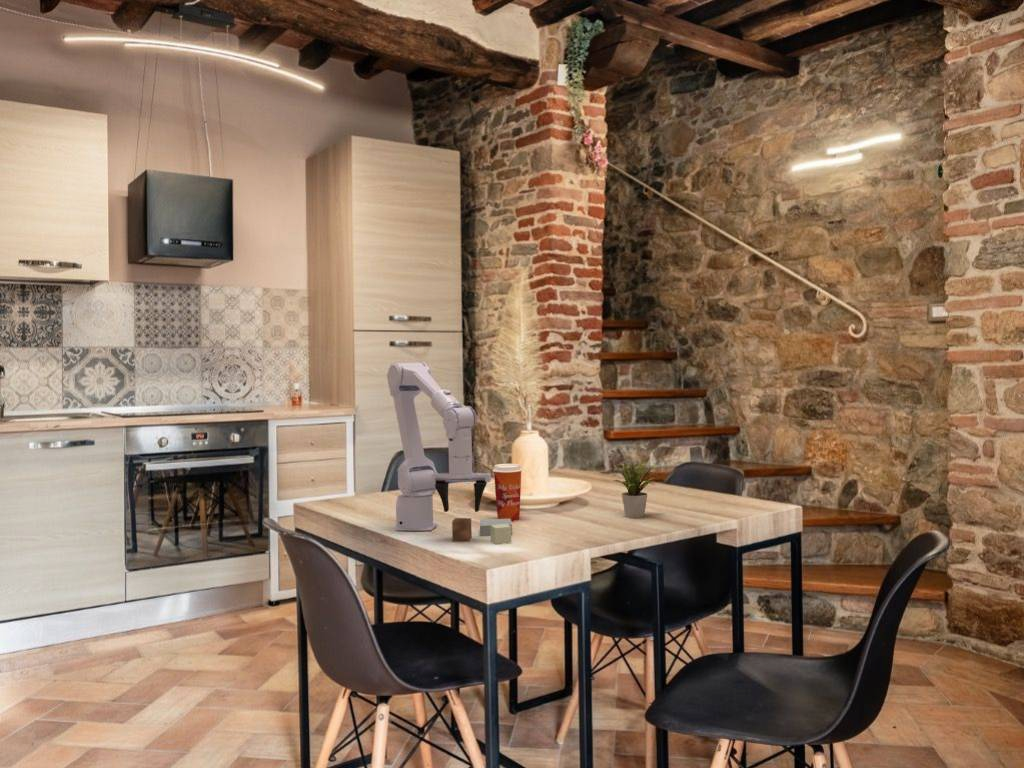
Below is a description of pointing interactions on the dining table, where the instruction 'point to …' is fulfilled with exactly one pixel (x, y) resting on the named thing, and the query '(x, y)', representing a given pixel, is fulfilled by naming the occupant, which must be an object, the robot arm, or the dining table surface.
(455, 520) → the walnut block
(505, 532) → the sage block
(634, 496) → the house plant
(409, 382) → the robot arm
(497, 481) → the coffee cup
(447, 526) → the dining table surface
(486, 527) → the base block
